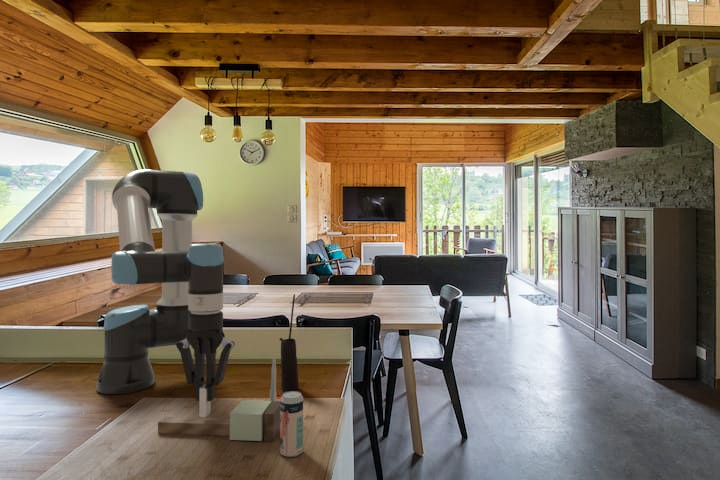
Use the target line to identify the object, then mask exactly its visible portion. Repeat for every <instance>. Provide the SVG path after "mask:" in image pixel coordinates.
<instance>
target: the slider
mask: <svg viewBox="0 0 720 480" xmlns="http://www.w3.org/2000/svg"><path fill="white" fill-rule="evenodd" d="M271 404H272V401H264V400H260V399H259V400H257V399H256V400H255V399H242V400H241V401H240V402H238V404H237V405H236V407H234V409H232V410H231V412H230V413H229V419H230V436H229V441H252V442H253V441H255V442H257V441H258V442H262V441H263V439H264V420H265V412H266V411H267V410H268V408H269V407H270V405H271Z"/></svg>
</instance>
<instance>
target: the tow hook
mask: <svg viewBox="0 0 720 480" xmlns="http://www.w3.org/2000/svg"><path fill="white" fill-rule="evenodd" d="M271 363H272V366H271V368H270V369H271V372H270V390H269V398H266V399H264V400H265V401H266V400H267V399H270V401H272V403H273V402H278V401H276V399H281V397H282V396H277V395H278V394H277V393H278V391H277V366H276V365H277V364H276V363H277V358H276V356H275V357H272V362H271Z"/></svg>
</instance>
